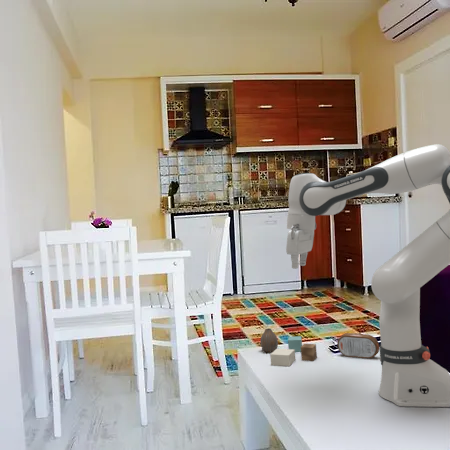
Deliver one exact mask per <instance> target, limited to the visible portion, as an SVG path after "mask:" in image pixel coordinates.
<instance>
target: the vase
mask: <svg viewBox="0 0 450 450" xmlns="http://www.w3.org/2000/svg"><path fill="white" fill-rule="evenodd" d="M259 342H260V346H261V349H262V351H264V352H265V353H272V352H274V351H275V350H276V349H278V346H279V339H278V337H277V335H276V333H274V332H273V330H272V328H265V329H264V332H263V333H262V335H261V337H260V341H259Z"/></svg>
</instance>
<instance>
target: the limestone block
mask: <svg viewBox="0 0 450 450" xmlns="http://www.w3.org/2000/svg"><path fill="white" fill-rule="evenodd" d="M269 354H270V355H269V356H270V357H269V358H270V366H277V367H291V366H292V364H294V362H295V361H296V353H295V350H294V349H289V348H288V349H287V348H277V349H276V350H275V351H274V352H270V353H269Z"/></svg>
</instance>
